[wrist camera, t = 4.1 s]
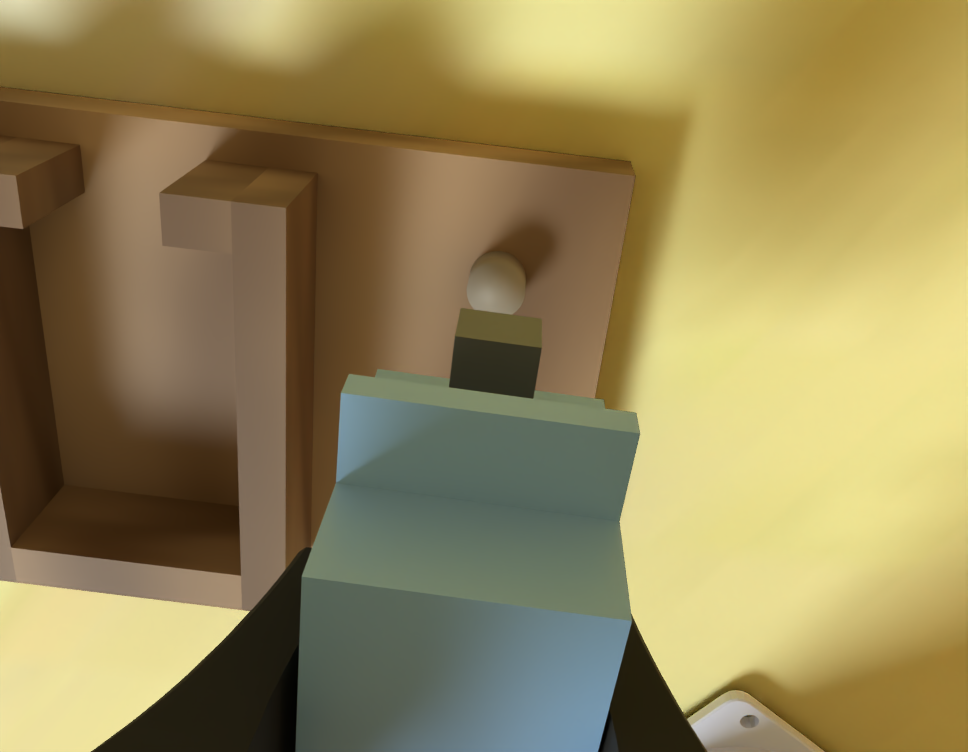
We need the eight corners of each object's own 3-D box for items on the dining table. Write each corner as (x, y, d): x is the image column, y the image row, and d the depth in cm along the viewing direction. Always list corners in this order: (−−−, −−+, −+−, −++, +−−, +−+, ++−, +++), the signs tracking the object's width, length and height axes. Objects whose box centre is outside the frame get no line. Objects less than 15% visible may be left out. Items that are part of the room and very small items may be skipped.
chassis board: (630, 161, 19) (648, 212, 16) (557, 569, 24) (559, 671, 21) (-116, 73, 19) (-254, 105, 16) (-33, 496, 24) (-124, 588, 21)
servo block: (384, 286, 13) (288, 509, 8) (620, 318, 13) (667, 560, 8) (353, 699, 17) (275, 1019, 12) (535, 724, 17) (532, 1053, 12)
